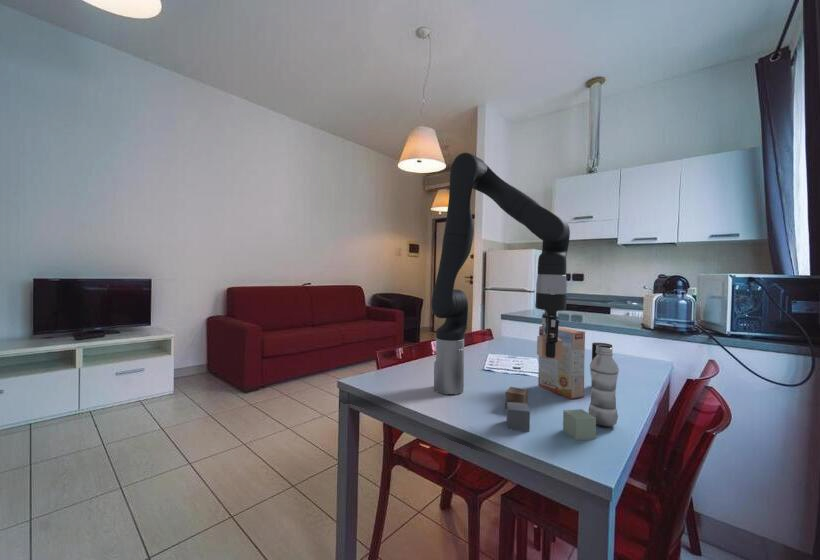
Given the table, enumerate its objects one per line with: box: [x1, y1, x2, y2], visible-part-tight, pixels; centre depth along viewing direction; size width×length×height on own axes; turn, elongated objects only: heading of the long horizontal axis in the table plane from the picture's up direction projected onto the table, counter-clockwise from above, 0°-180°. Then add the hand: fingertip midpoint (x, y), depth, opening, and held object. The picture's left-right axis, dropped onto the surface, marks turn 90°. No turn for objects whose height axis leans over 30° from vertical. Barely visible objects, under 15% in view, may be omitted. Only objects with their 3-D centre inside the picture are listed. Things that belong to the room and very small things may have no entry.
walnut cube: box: [505, 386, 529, 410], centre depth 94 cm, size 5×5×5 cm
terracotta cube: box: [536, 335, 562, 360], centre depth 88 cm, size 5×5×5 cm
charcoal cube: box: [506, 402, 531, 432], centre depth 83 cm, size 5×5×5 cm
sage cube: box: [562, 408, 597, 441], centre depth 79 cm, size 5×5×5 cm
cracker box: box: [537, 325, 586, 400], centre depth 108 cm, size 14×6×21 cm, turn 22°
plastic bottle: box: [588, 345, 620, 428], centre depth 84 cm, size 6×7×20 cm
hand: (549, 354), depth 88 cm, fingers closed on terracotta cube, 5 cm apart
